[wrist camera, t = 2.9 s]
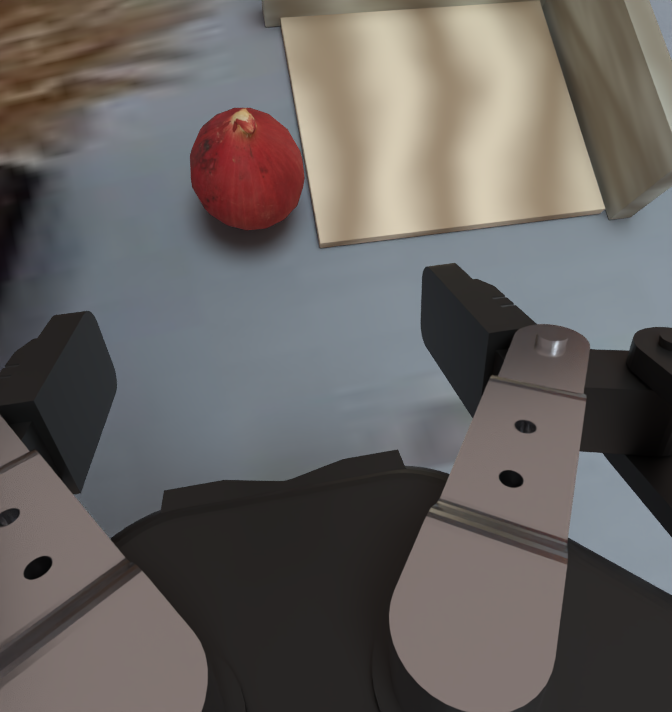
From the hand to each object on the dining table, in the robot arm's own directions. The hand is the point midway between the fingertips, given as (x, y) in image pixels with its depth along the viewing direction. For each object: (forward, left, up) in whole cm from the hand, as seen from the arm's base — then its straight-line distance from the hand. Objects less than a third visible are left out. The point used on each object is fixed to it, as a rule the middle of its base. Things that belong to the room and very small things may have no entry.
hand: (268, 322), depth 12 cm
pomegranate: (0, +12, -15) cm, 19 cm away
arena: (+13, +17, -15) cm, 26 cm away
